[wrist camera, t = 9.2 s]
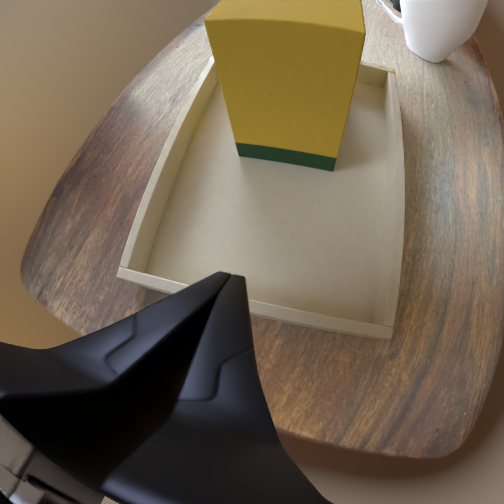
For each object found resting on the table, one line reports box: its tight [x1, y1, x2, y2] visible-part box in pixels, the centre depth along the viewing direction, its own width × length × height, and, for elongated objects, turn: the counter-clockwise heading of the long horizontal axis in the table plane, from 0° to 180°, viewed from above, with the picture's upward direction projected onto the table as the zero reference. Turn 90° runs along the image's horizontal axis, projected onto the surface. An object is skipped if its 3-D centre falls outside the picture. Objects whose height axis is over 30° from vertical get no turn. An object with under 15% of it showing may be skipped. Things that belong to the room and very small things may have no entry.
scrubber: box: [204, 0, 366, 172], centre depth 13 cm, size 7×6×10 cm
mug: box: [375, 0, 488, 63], centre depth 15 cm, size 12×8×11 cm
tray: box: [117, 54, 405, 339], centre depth 17 cm, size 19×14×2 cm
